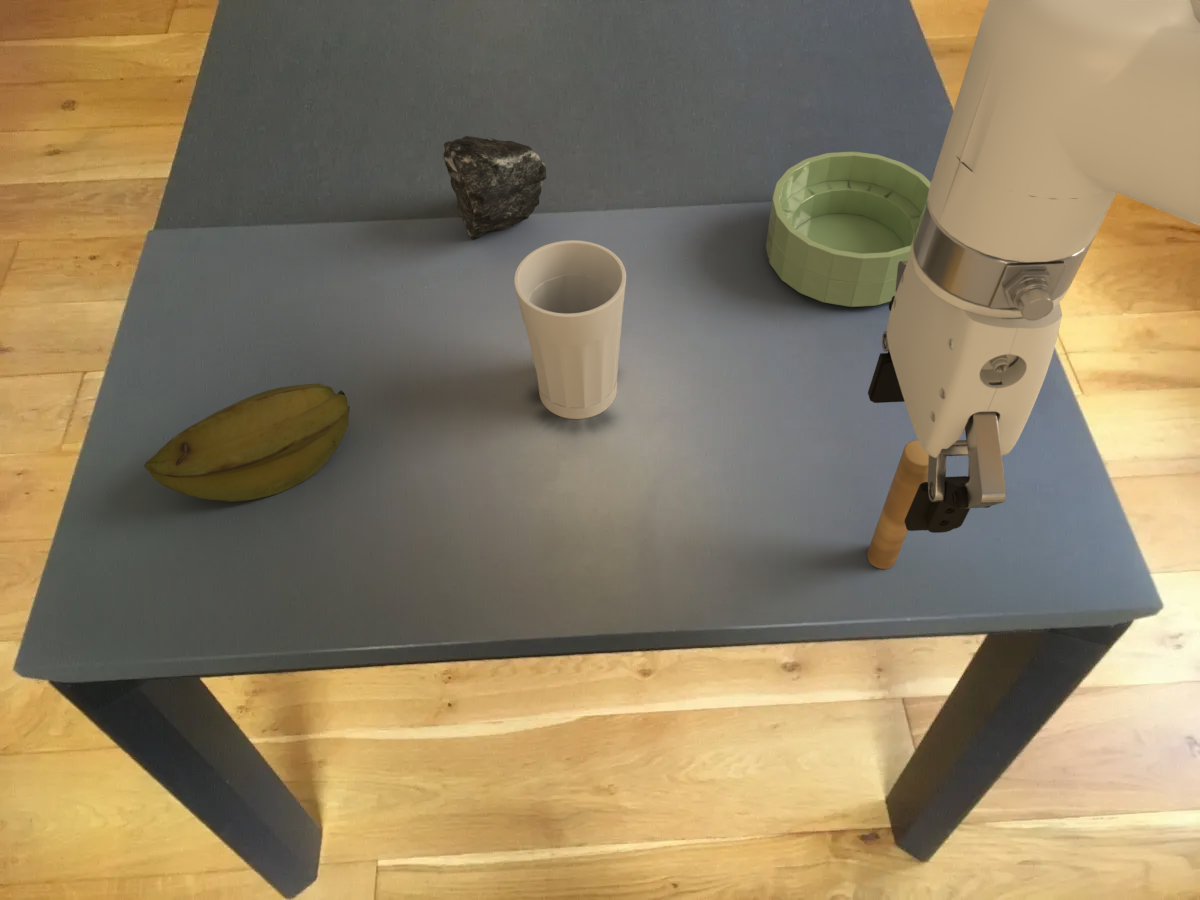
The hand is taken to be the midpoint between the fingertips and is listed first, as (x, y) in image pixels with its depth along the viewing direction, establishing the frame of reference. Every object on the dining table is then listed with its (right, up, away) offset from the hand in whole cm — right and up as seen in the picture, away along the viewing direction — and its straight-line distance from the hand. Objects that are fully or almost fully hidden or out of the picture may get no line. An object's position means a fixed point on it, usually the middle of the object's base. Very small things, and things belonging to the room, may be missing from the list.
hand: (910, 458), depth 59 cm
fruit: (-44, -1, +16) cm, 47 cm away
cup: (-21, +5, +19) cm, 29 cm away
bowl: (+3, +18, +28) cm, 33 cm away
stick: (+1, -7, +9) cm, 11 cm away
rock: (-29, +22, +32) cm, 48 cm away
